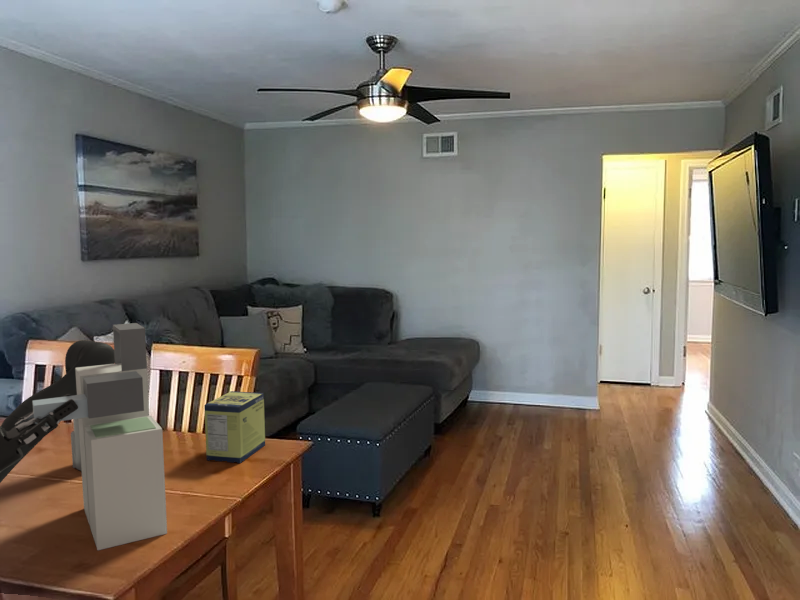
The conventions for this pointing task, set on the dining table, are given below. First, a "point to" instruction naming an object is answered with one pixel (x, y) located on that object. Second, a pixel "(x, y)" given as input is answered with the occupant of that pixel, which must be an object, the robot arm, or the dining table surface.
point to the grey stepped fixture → (123, 456)
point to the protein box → (234, 426)
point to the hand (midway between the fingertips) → (73, 400)
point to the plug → (100, 397)
